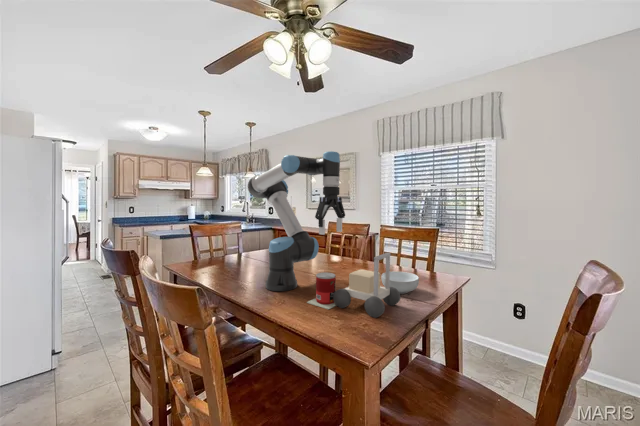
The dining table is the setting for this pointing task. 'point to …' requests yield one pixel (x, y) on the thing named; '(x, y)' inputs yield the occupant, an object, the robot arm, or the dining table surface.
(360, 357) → the dining table surface
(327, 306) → the mat
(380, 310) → the trolley
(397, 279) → the cereal bowl
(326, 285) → the canned food
